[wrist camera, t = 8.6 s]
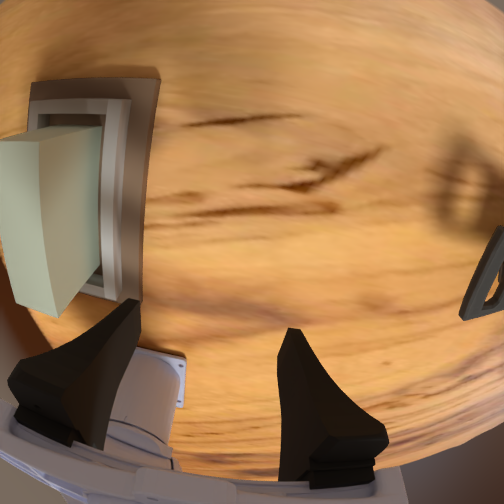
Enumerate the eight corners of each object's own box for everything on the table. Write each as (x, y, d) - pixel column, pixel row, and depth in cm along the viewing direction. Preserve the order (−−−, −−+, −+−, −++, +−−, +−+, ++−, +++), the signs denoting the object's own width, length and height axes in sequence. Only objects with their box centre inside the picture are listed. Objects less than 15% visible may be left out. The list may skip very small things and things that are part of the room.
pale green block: (99, 264, 22) (58, 318, 16) (61, 255, 22) (16, 302, 15) (102, 125, 17) (39, 141, 11) (58, 124, 17) (-7, 141, 10)
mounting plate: (142, 300, 25) (133, 318, 23) (44, 275, 24) (31, 289, 22) (161, 79, 17) (148, 77, 14) (38, 82, 16) (19, 83, 13)
